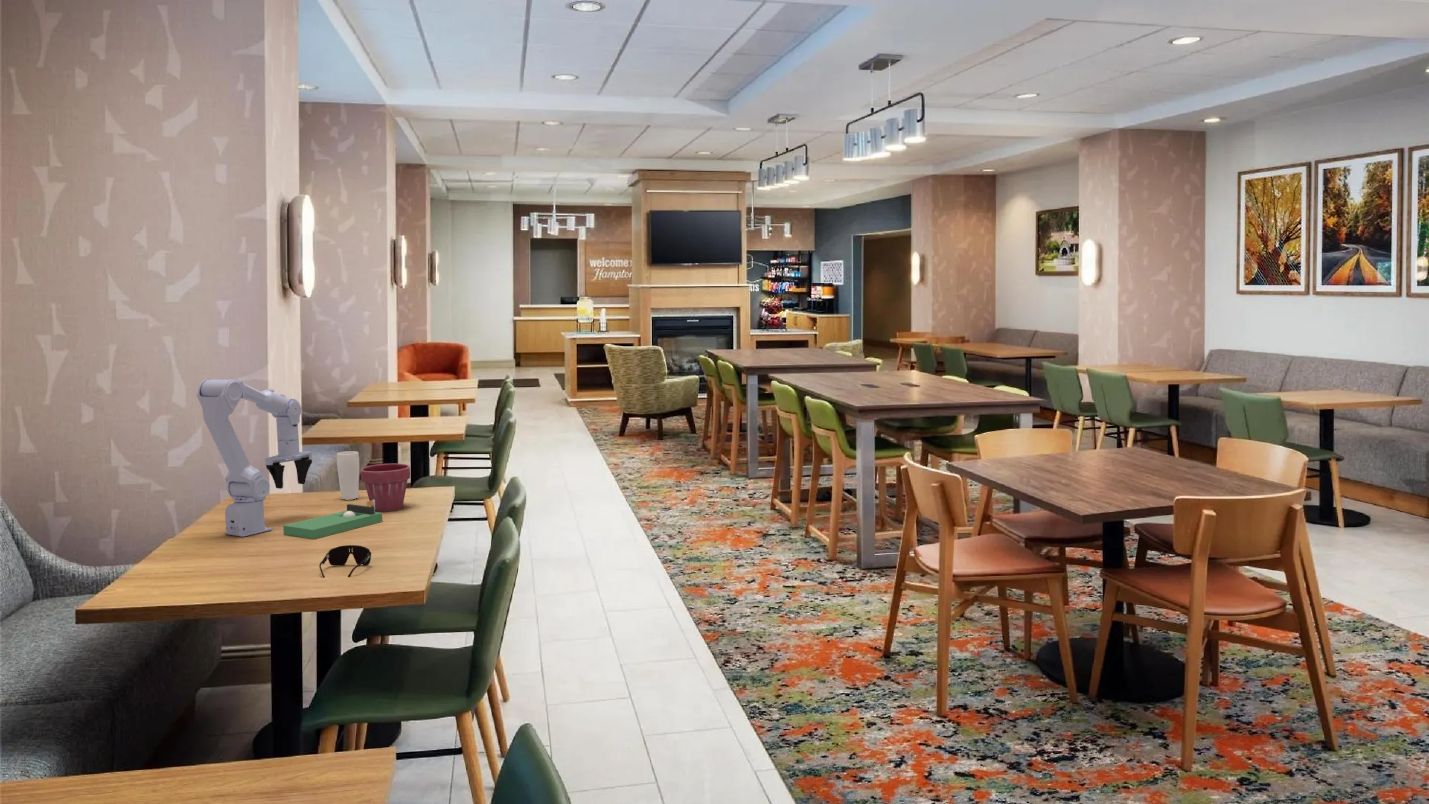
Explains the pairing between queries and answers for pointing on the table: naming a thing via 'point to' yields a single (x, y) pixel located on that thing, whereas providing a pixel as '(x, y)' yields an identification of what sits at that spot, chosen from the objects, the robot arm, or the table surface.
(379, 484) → the plant pot
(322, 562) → the sunglasses
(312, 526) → the green board
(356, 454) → the drinking glass
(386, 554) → the table surface
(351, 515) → the ball
